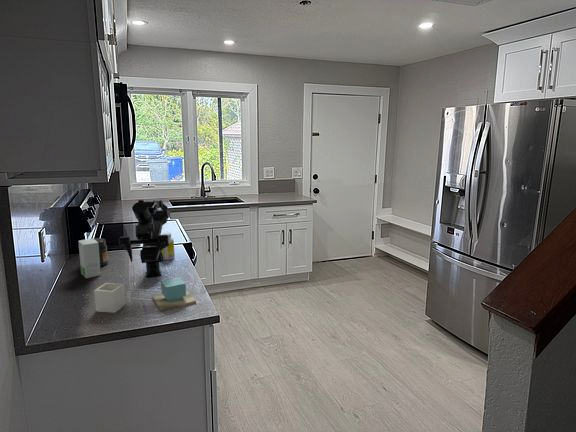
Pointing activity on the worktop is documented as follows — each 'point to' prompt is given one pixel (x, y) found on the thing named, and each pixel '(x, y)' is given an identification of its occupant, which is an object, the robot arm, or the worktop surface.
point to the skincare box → (89, 258)
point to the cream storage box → (109, 297)
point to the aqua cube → (173, 289)
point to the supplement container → (102, 251)
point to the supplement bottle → (168, 248)
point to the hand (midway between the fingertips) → (143, 260)
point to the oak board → (166, 305)
